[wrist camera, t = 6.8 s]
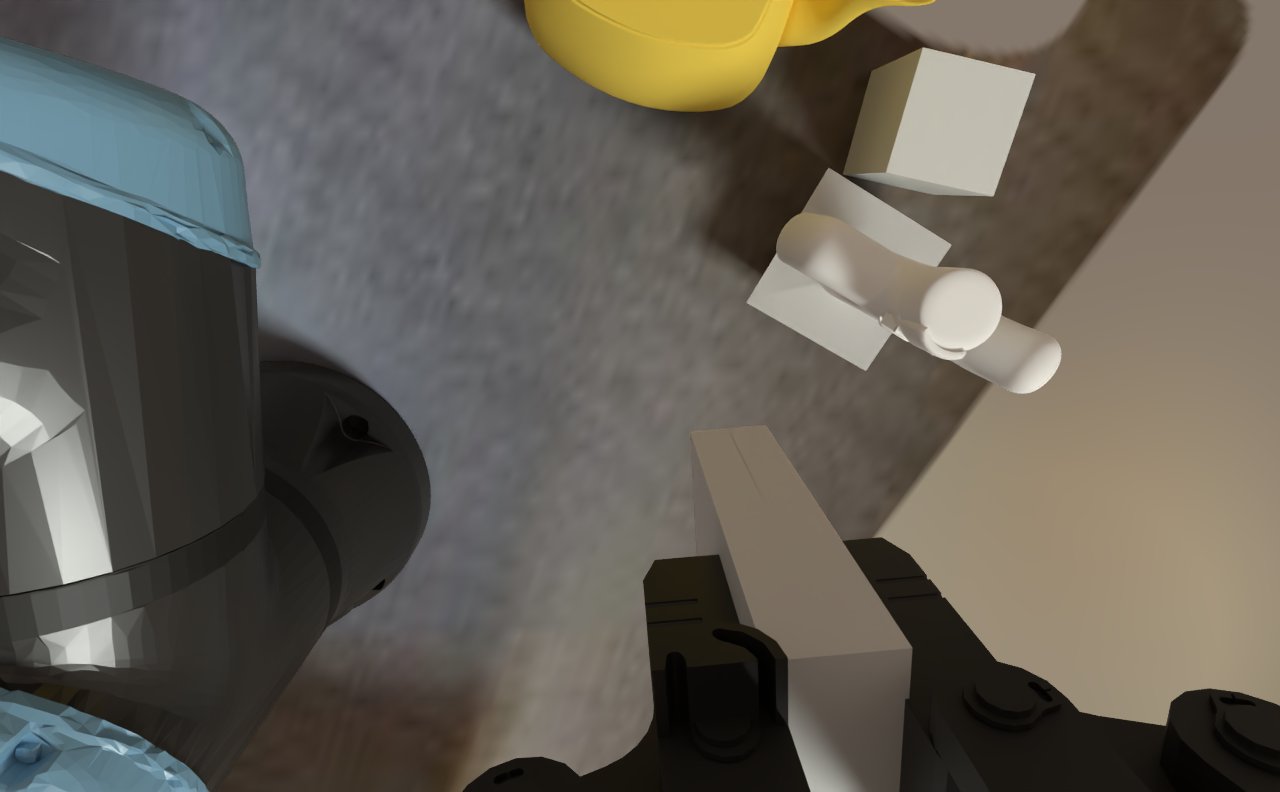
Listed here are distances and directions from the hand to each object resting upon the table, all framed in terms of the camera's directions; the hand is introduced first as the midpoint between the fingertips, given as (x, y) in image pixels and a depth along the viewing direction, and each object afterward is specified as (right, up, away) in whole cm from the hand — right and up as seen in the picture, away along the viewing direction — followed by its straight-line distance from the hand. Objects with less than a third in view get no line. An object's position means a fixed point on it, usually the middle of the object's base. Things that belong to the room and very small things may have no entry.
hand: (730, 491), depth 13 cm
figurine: (+8, +9, +23) cm, 26 cm away
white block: (+12, +15, +21) cm, 28 cm away
